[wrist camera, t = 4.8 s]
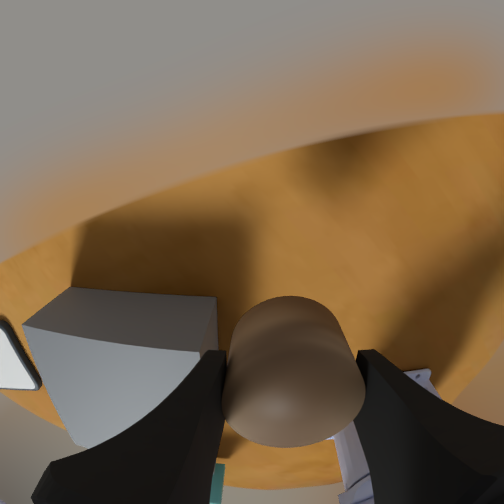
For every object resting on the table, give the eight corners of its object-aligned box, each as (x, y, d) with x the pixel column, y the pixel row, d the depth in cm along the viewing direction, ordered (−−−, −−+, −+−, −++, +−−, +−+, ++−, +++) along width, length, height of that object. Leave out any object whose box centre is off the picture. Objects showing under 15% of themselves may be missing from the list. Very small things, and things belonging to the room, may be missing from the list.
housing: (222, 416, 24) (214, 474, 17) (101, 398, 24) (75, 444, 18) (216, 297, 20) (199, 352, 14) (70, 286, 21) (21, 324, 14)
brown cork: (350, 297, 11) (381, 347, 8) (331, 386, 12) (347, 444, 9) (231, 293, 11) (219, 346, 8) (231, 385, 12) (223, 445, 9)
